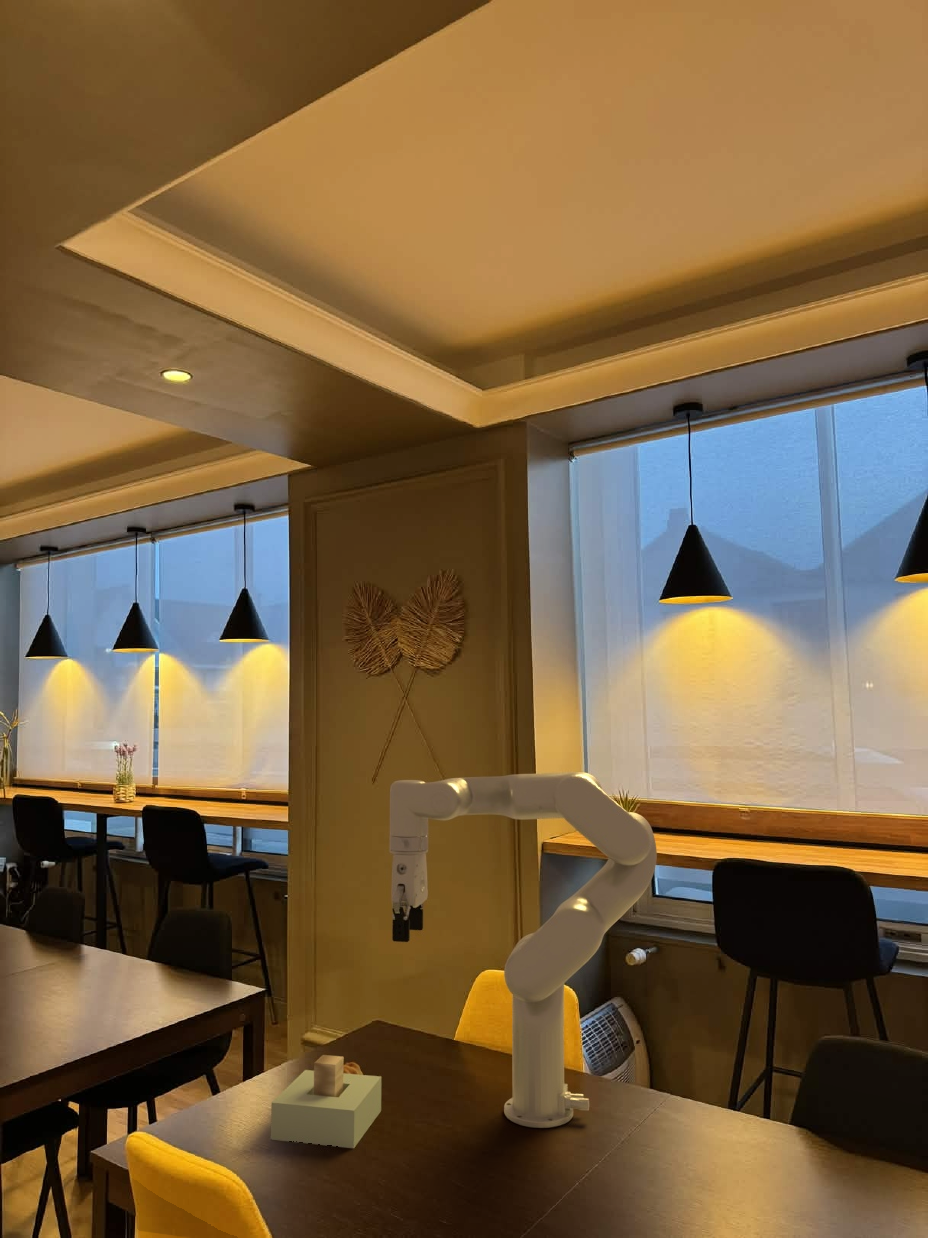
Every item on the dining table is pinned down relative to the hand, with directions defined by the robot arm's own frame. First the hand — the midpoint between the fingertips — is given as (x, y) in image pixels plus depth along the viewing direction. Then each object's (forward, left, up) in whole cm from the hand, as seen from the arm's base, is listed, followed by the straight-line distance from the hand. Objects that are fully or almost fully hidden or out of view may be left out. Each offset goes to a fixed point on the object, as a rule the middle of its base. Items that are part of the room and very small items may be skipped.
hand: (408, 935), depth 172 cm
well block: (+11, +13, -30) cm, 35 cm away
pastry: (+15, -4, -31) cm, 34 cm away
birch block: (+11, +13, -29) cm, 34 cm away
